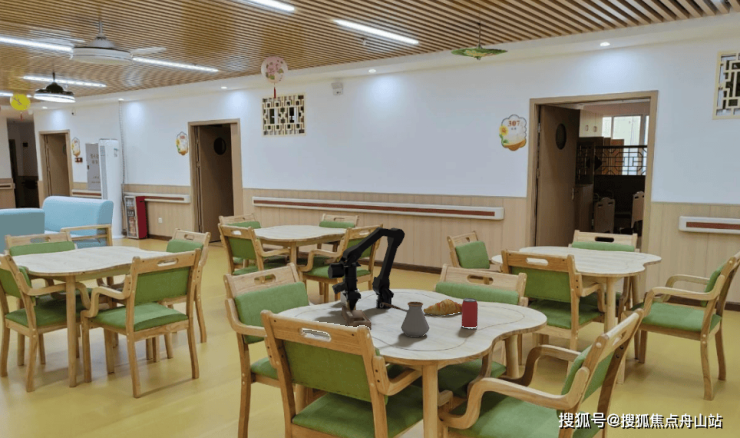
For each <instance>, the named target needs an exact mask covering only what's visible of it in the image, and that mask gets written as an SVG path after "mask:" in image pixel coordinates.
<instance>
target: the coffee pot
mask: <svg viewBox="0 0 740 438" xmlns="http://www.w3.org/2000/svg"><path fill="white" fill-rule="evenodd" d="M382 304H383V305H386V306H389V307H391V308H390V309H394V310H398V311H399V310H400V311H402V312H405V313H406V315H405V317H404V319H403V321H402V324H401V326H400V329H401V331H402V332H403V333H404V334H405V336H407V335H408V336H407V337H409V336H410V338H420V337H419V336H422V337H424V336H425V335H426V334H427V333H428V332H429V330H430V326H429V325H430V324H429V323H428V321H427V319H426V316H425V314H424V311H423V306H424V303H423V302H422V301H409V302H407V303H406V304H407V305H408V309H404V308H401V307H399V306H397V305H394V304H392V305H391V304H388V303H384V302H382ZM380 305H381V304H380ZM380 307H381V306H380ZM382 307H383V306H382ZM424 334H425V335H424ZM423 335H424V336H423ZM411 336H412V337H411Z"/></svg>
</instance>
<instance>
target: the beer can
mask: <svg viewBox="0 0 740 438" xmlns="http://www.w3.org/2000/svg"><path fill="white" fill-rule="evenodd" d="M461 304H462V312H461V327H462V326H464V327H476V326H477V327H478V315H479V309H478V307H479V306H478V305H479V304H478V302H477V299H476V298H472V297H465V298H463V301H462V303H461Z"/></svg>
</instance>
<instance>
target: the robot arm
mask: <svg viewBox="0 0 740 438" xmlns="http://www.w3.org/2000/svg"><path fill="white" fill-rule="evenodd" d="M405 236H406V233H405V231H404V230H403V229H402V228H399V227H398V228H397V227H391V228H384V227H381V226H378V227H375V229H374V230H373V231H372V232H370V233H369V234H368V235H367V236H365V237H364V238H363V239H362V240H360V241H359V242H358V243H356V244H354V245H352V246H349V247H347V248H345V249H344V250H343V252H342V256H340V259H339V260H338V262H336V263H333V262H332V263H329V266H328V269H327V276H328V278H329V279H341V278H343V277H344V278H343V279H342V281H341V282H337V283H336V284H333V285H331V288H332V290H333V293H334V294H335V295H338V294H339V293H340V292H343V291H344V293H343V295H344V296H345V297H346V299H347V300H348V301H349V306H350V310H354V308H355V305H356V306H357V303H358V302H357V301H358V299H359V300H361V299H362V294H361V293H360V291H359V292H358V289H359V288H358V282H359V280H358V279H359V278H358V276H357V275H358V270H357V269H358V268H360V267H362V265H361V264H360V263H359V260H360V258H362V255H363V253H364V252H365V251H366V250H368V249H369V248H370V247H371V246H372V245H374V244H375V243H376V242H377V241H379V240H380V239H382V237H386V240H387V242H386V243H387V246H386V247H387V248H386V251H385V255H384V257H383V262H382V265H381V268H380V272H379V274H378V275H377V276H374V277H373V279H372V283H371V287H372V291H373V292H374V293H375V296H376V298H377V299H375V301H376V302H375V303H376V304H375V306H376V307H375V308H376V309H378V310H388V309H392V308H391V307H389V306H386V305H383V304H382V302H384V303H388V304H391V305H393V304H392V303H393V302H392V299H393V298H394V296H395V293H394V292H393V291H392V290H391V289H390V287H391V286H390V285H391V280H390V276H391V273H392V269H393V265H394V262H395V258H396V255H397V252H398V248H399V247H400V246H401V245H402V244H403V241H404V239H405ZM380 304H381V305H380ZM380 306H381V307H380ZM382 306H383V307H382Z"/></svg>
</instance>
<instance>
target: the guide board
mask: <svg viewBox="0 0 740 438" xmlns="http://www.w3.org/2000/svg"><path fill="white" fill-rule="evenodd" d="M341 316H342V319H343V320H344V322H345V323H346V324H347V325H348V326H353V327H357V326H359V325H365V326H367V327H369V328H370V329H369V330H372V321H371V320H370V319H369V317H368V316H367V315H366V313H365V312H364V311H363V310H362V309H356V310H350V311H349V310H348V309H347V307H346V304H345V305H341ZM348 326H347V327H348Z"/></svg>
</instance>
